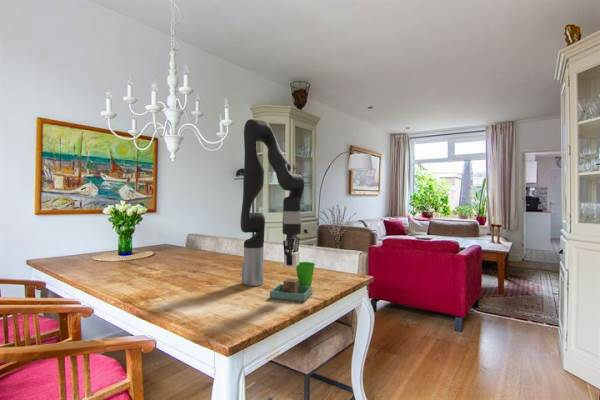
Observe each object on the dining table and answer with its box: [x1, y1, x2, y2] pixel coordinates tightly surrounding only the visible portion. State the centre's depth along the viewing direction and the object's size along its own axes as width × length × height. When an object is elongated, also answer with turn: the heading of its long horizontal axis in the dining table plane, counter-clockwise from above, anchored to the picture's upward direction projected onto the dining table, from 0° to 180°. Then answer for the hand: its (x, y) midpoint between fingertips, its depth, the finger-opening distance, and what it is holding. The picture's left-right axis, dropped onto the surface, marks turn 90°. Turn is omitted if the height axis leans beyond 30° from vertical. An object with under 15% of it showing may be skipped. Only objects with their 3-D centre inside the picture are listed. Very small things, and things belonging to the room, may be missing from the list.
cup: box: [295, 261, 316, 287], centre depth 143 cm, size 9×9×11 cm
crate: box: [269, 283, 313, 303], centre depth 132 cm, size 14×11×3 cm
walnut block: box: [283, 278, 299, 294], centre depth 132 cm, size 5×5×6 cm
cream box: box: [283, 251, 300, 268], centre depth 131 cm, size 5×5×5 cm
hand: (291, 263), depth 131 cm, fingers closed on cream box, 5 cm apart
